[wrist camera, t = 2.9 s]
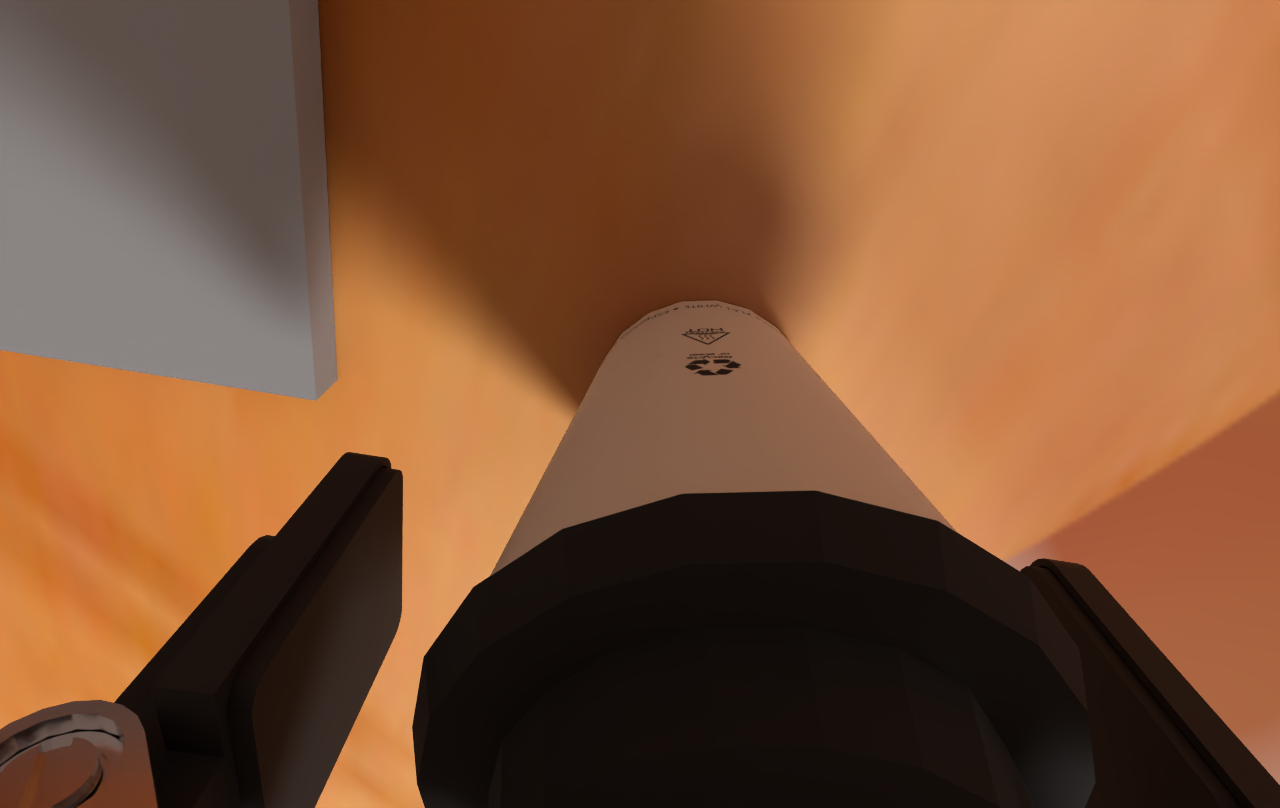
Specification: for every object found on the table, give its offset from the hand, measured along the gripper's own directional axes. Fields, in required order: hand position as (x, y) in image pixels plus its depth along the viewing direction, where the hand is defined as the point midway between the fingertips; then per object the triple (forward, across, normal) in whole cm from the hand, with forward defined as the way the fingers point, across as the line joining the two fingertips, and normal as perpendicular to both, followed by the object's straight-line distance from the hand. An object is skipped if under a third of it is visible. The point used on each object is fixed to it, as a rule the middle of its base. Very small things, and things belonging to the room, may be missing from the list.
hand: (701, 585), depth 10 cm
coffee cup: (+6, 0, 0) cm, 6 cm away
